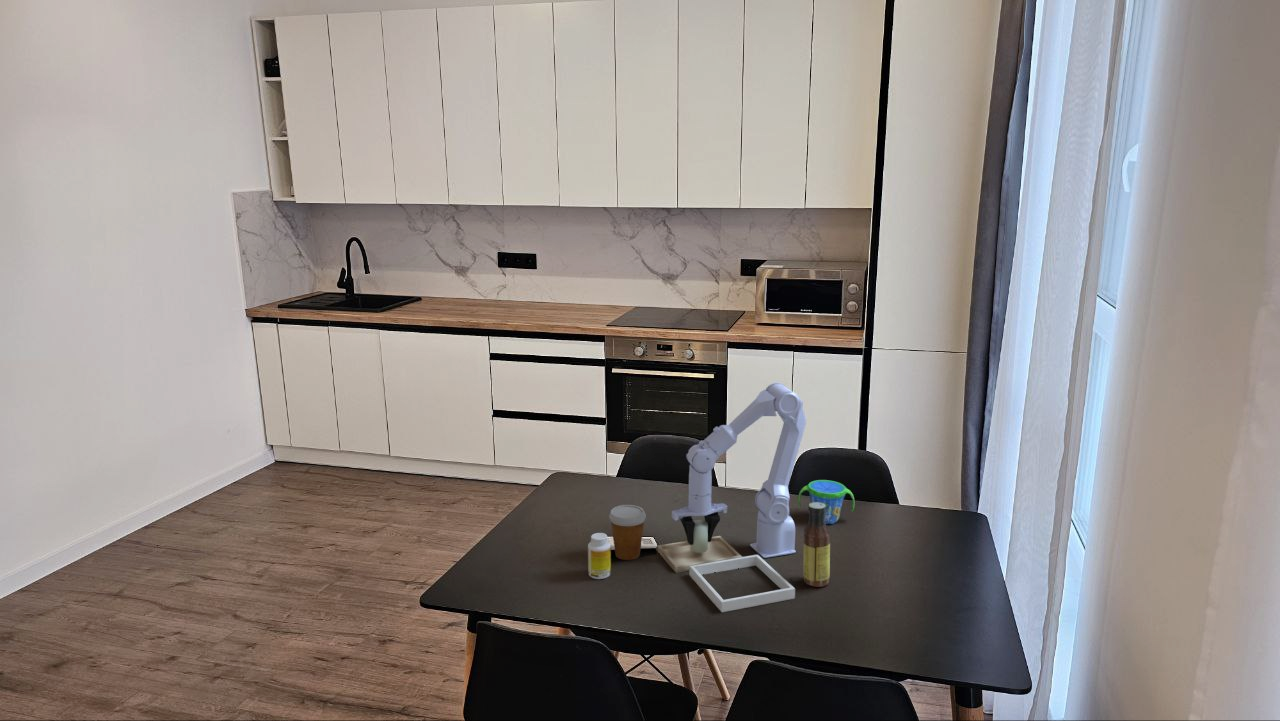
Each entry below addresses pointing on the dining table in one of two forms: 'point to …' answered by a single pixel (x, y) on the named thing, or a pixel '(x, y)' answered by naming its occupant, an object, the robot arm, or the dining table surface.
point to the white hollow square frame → (746, 601)
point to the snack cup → (828, 497)
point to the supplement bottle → (599, 556)
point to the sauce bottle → (816, 547)
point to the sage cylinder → (700, 537)
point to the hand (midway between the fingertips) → (699, 541)
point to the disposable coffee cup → (627, 530)
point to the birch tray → (696, 554)
